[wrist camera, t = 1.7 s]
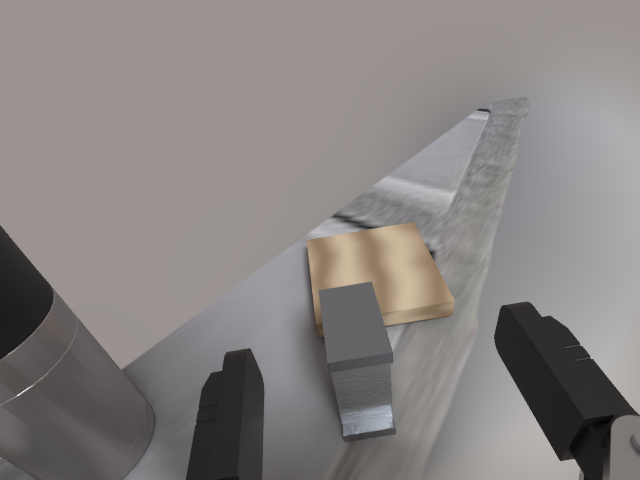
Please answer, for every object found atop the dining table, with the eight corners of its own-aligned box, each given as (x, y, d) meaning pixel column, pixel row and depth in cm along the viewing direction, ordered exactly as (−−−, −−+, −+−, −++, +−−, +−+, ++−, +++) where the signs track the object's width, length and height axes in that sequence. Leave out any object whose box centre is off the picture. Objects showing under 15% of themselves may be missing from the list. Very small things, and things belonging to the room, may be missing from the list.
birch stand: (319, 341, 41) (315, 324, 39) (310, 256, 53) (306, 240, 51) (452, 319, 41) (454, 301, 39) (413, 239, 53) (413, 222, 51)
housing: (345, 442, 32) (327, 363, 25) (335, 371, 38) (318, 290, 31) (395, 433, 32) (392, 352, 25) (378, 364, 38) (371, 281, 30)
